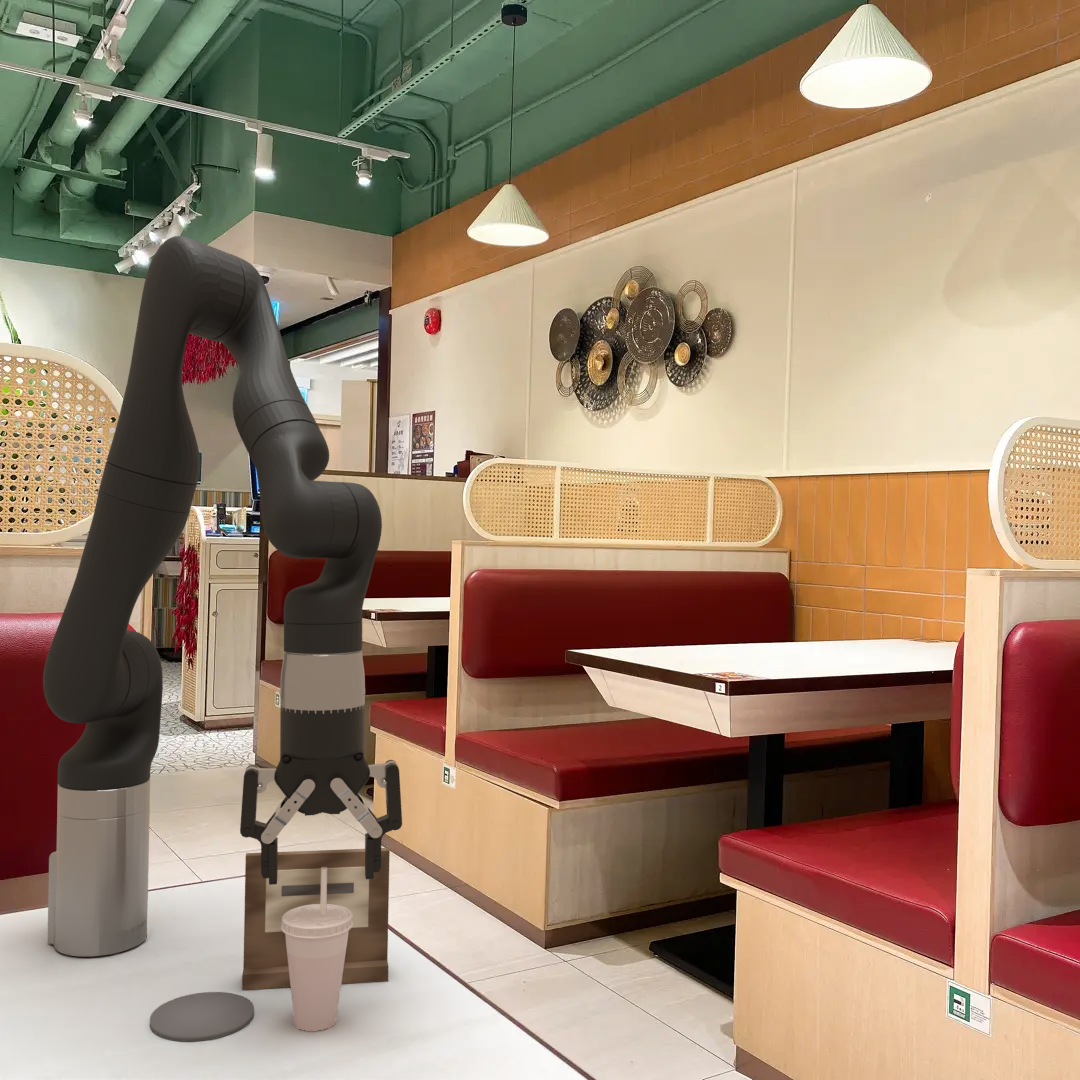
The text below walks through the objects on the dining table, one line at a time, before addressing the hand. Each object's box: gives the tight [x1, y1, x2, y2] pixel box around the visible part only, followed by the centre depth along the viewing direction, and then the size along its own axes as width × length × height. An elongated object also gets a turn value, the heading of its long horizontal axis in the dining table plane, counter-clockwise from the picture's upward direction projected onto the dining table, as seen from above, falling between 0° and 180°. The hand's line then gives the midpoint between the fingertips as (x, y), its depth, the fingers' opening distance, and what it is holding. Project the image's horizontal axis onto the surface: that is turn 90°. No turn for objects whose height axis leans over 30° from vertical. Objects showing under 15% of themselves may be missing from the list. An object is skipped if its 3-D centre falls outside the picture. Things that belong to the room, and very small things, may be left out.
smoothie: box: [281, 867, 353, 1032], centre depth 97 cm, size 6×6×14 cm
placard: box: [241, 847, 391, 991], centre depth 107 cm, size 14×4×12 cm, turn 102°
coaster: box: [149, 991, 255, 1042], centre depth 97 cm, size 9×9×1 cm
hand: (321, 879), depth 97 cm, fingers open, 8 cm apart
